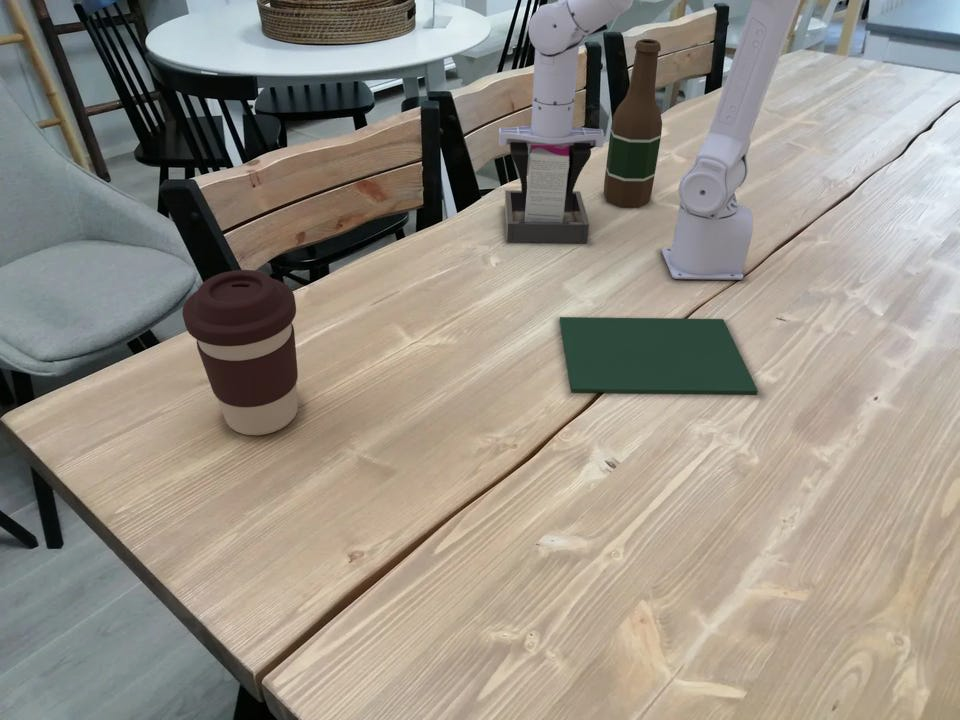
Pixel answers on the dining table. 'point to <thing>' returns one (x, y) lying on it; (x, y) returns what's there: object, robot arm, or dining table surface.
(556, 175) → the supplement box
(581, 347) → the mat
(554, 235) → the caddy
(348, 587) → the dining table surface
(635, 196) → the beer bottle
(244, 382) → the coffee cup
